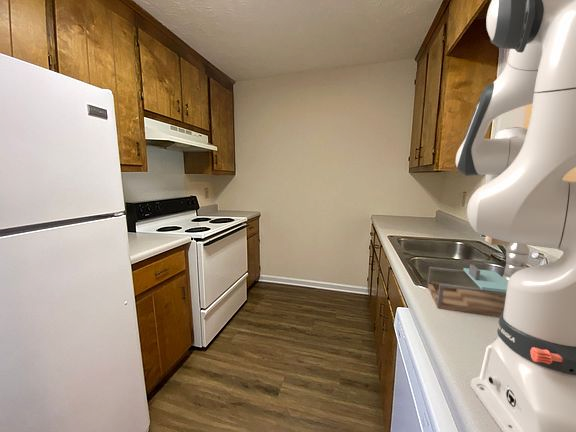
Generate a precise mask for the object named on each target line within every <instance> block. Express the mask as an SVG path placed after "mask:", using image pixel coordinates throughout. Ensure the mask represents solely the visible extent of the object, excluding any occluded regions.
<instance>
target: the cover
mask: <svg viewBox="0 0 576 432" xmlns="http://www.w3.org/2000/svg"><path fill="white" fill-rule="evenodd" d="M463 270H464V271H465V272H466V273H465V274H466V275H467V276H468V277H469V278H470V279H471V280H472V281H473V282H474V283H475V284H476V285H477V286H478V287H479V288H481V289H482V290H489V291H497V292H505V293H506V291H507V284H508V281H507V280H505V279H504V278H503V276H501V274H499V273H498V272H497V271H494V270H489V269H488V270H487V269H479V268H478V267H476V266H475V264H469V268H467V267H463Z"/></svg>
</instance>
